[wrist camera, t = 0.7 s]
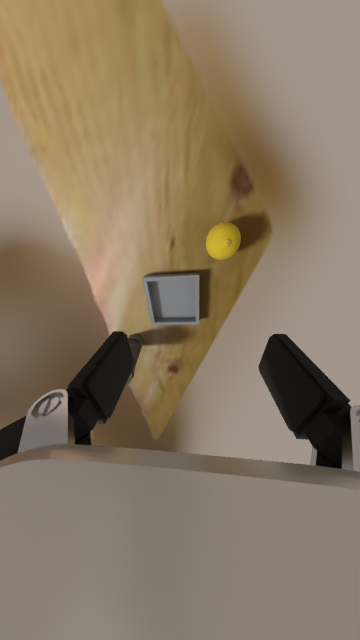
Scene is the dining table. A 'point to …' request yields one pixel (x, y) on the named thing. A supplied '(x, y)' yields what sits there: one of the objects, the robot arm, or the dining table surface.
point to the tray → (173, 298)
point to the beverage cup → (134, 351)
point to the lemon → (223, 240)
